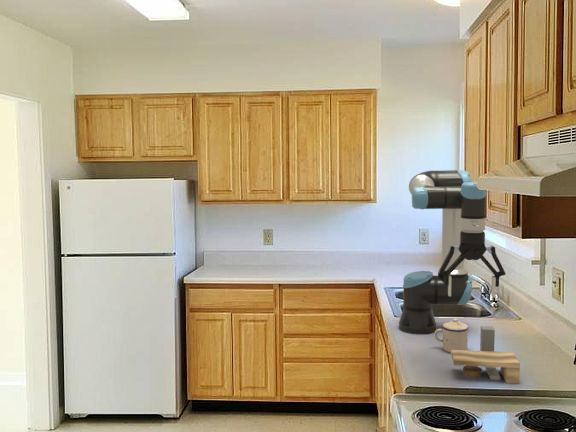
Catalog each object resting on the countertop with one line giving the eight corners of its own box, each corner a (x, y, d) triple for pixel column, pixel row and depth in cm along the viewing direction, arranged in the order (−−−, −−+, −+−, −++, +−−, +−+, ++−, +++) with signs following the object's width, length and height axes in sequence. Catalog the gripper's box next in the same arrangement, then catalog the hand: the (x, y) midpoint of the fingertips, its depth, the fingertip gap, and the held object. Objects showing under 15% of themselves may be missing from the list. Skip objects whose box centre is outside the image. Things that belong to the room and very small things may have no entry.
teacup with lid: (468, 346, 218) (469, 316, 217) (467, 355, 210) (467, 323, 208) (435, 343, 222) (436, 313, 221) (432, 351, 214) (433, 320, 212)
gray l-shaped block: (480, 358, 206) (480, 325, 204) (491, 359, 205) (492, 326, 204) (488, 379, 188) (489, 343, 187) (501, 379, 187) (502, 343, 186)
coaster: (461, 370, 196) (461, 364, 196) (480, 371, 195) (480, 365, 195) (464, 377, 190) (464, 371, 190) (483, 378, 189) (483, 372, 189)
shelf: (450, 368, 198) (451, 349, 197) (512, 371, 194) (513, 352, 194) (453, 380, 188) (454, 360, 187) (519, 383, 185) (519, 363, 184)
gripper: (433, 232, 185) (432, 297, 187) (516, 233, 180) (514, 300, 183) (431, 228, 192) (430, 291, 195) (511, 229, 187) (509, 293, 190)
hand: (471, 296), depth 189 cm, fingers open, 13 cm apart
